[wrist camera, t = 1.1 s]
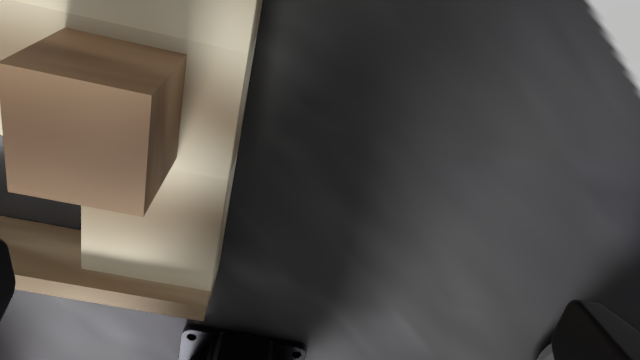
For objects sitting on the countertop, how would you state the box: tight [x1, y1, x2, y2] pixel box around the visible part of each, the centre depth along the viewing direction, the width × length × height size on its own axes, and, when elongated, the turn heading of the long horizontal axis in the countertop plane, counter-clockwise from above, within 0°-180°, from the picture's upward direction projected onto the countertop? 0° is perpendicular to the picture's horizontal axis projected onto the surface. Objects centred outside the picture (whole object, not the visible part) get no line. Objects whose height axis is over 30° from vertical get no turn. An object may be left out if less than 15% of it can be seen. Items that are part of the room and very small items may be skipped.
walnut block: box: [0, 28, 187, 217], centre depth 16 cm, size 4×4×4 cm
